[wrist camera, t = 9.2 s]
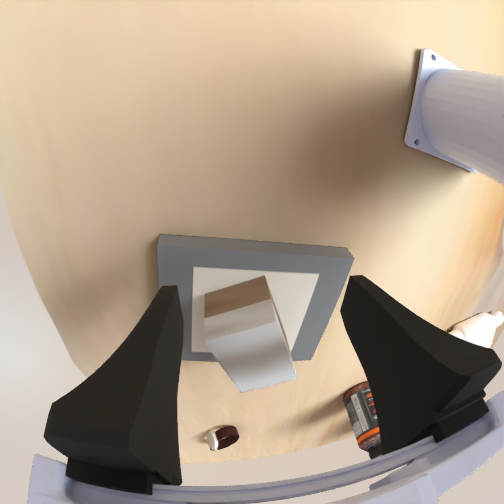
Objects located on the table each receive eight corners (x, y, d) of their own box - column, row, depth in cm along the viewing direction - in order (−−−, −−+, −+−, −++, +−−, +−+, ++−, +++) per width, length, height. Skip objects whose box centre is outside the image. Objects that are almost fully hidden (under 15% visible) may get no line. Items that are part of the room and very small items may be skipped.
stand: (346, 247, 22) (354, 259, 20) (307, 348, 28) (311, 360, 26) (160, 234, 19) (156, 246, 18) (166, 346, 25) (164, 359, 24)
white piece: (426, 328, 30) (444, 354, 27) (497, 298, 31) (513, 317, 27) (405, 373, 36) (417, 396, 32) (474, 342, 37) (486, 360, 33)
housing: (285, 335, 24) (297, 378, 20) (236, 350, 24) (241, 393, 20) (264, 275, 20) (276, 320, 16) (204, 293, 20) (204, 341, 16)
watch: (214, 421, 35) (215, 442, 32) (245, 423, 37) (247, 444, 34) (201, 437, 39) (202, 456, 36) (228, 440, 40) (230, 458, 37)
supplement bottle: (386, 376, 35) (415, 440, 25) (367, 398, 38) (391, 457, 28) (353, 381, 33) (380, 453, 24) (335, 403, 36) (356, 468, 27)
